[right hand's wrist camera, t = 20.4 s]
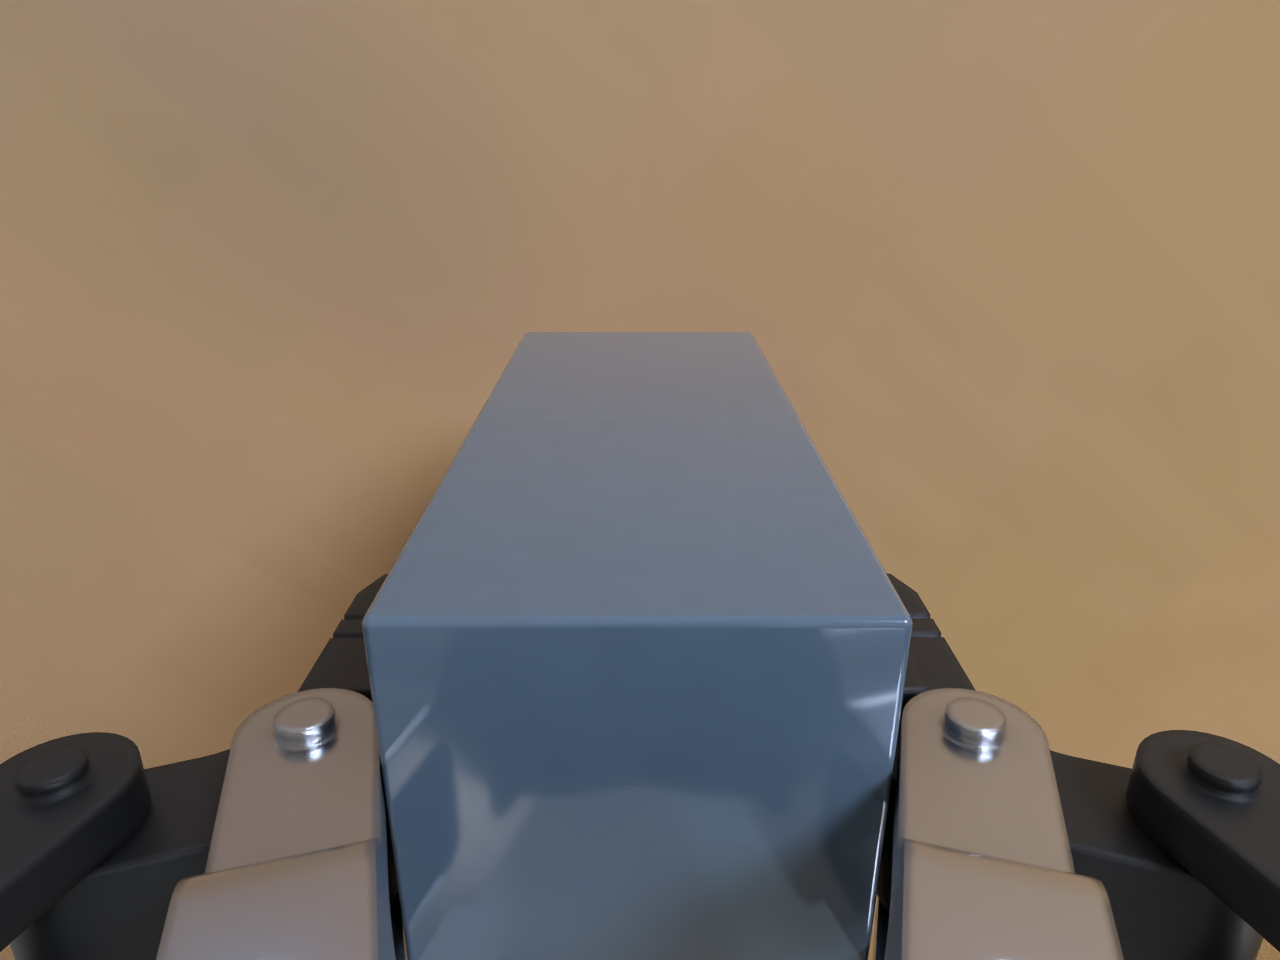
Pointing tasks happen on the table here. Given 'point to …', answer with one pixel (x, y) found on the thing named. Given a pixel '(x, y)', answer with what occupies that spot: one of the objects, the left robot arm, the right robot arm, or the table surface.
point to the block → (637, 671)
